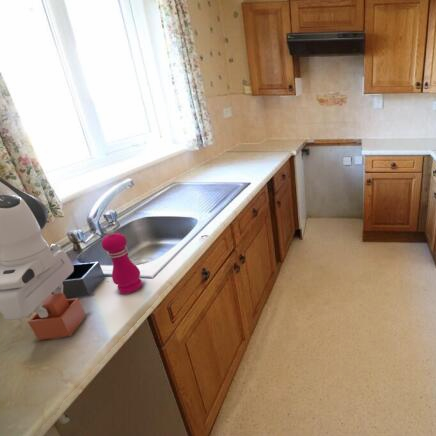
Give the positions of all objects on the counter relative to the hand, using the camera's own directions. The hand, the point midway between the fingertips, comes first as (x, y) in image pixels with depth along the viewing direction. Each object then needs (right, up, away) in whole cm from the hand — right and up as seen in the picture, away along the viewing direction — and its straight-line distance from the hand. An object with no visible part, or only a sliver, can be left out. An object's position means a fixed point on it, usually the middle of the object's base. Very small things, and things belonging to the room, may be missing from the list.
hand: (53, 307), depth 82 cm
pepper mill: (+9, +1, +18) cm, 20 cm away
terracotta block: (0, -2, +1) cm, 2 cm away
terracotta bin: (0, -6, +3) cm, 6 cm away
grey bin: (-7, +1, +18) cm, 20 cm away
